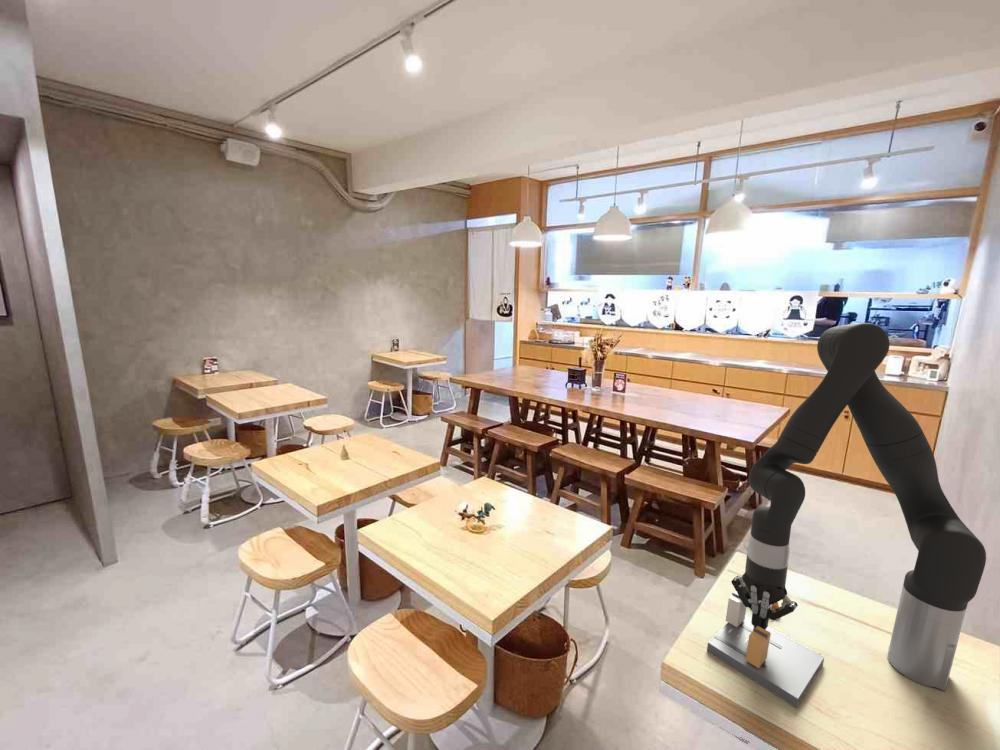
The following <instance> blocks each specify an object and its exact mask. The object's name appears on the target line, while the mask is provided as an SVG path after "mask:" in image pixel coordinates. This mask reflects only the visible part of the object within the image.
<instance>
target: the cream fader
mask: <svg viewBox="0 0 1000 750" xmlns="http://www.w3.org/2000/svg"><path fill="white" fill-rule="evenodd" d="M726 607H727V608H726V609H727V610H726V615H725V622H726V623H730V624H732V625H734V626H735V627H738V626H739V625H740V624H741V623H742V622H743V621H744V620H745V614H746V612H747V607H745V606H744V604H743V602H742V601H741V599H740V597H739V595H738V593H737V592H736V590H735V591H732V593H731V595H730V596H729V597H728V602H727V606H726ZM746 615H747V614H746Z"/></svg>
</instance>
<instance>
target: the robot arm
mask: <svg viewBox="0 0 1000 750" xmlns="http://www.w3.org/2000/svg"><path fill="white" fill-rule="evenodd" d="M817 340H818V341H817V344H816V345H817V346H816V347H817V348H816V349H817V355H818V357H819V359H820V362H821V363H822V364H823V366H824V367H825V370H826V374H825V375H824V377H823V379H822V381H821V382H820V383H819V385H818V386H817V387H816V388H815V389H814V390H813V392H812V393H811V394H809V396H808V397H807V398H805V400H804V401H803V402H802V403H801V404H800V405H799V406H798V407H797V408H796V409H795V411H793V413H792V414H791V416H790V418H789V419H788V421H787V422H786V424H785V426H784V428H783V430H782V431H781V433H780V435H779V437H778V439H777V441H776V442H775V443H774V444H773V445H772V446H771V447H769V449H767V450H766V452H765V453H763V455H762V456H761V457H760V458H759V459H757V461H756V462H755V463H754V464H753V466H752V467H751V469H750V471H749V472H748V473H749V474H748V484H749V486H750V487H749V488H751V490H752V491H754V493H756V494H759V495H760V496H761V497H763V498H765V499H767V500H768V501H770V505H769V506H763V505H762V506H759V507H757V508H755V509H754V511H753V512H752V513H753V514H752V517H751V526H750V535H749V538H748V542H747V547H746V559H745V569H744V570H745V571H744V573H743V574H742V576H740V575H735V576H734V577H733V578H732V580H731V585H732V586H733V588H734V590H735V591H736V592H737V593H738V595H739V597H740V599H741V601H742V602H743V604H744V606H745V607H746V608H749V610H751V612H752V613H751V614H752V615H751V617H752V621H751V623H752V625H753V626H754V628H756V627H757V626H759V627H761V628H763V629H766V628H767V627H769V620H772V621H776V620H778V619H780V618H782V617H785V616H788V615H789V614H791V613H794V612H795V610H796V609H797V607H798V603H797V602H796V601H795V600H794V601H793V600H791V598H789V596H788V591H787V588H786V585H787V584H786V582H787V574H788V567H789V558H790V540H791V539H790V538H791V530H792V525H793V522H794V521H795V519H796V517H797V515H798V513H799V511H800V509H801V507H802V505H803V503H804V501H805V497H806V487H805V484H804V482H803V480H802V479H801V478H800V477H799V476H798V475H796V474H794V473H792V472H791V471H788V468H790V467H791V466H792V465H793V464H800V465H809V464H811V463H812V462H813V461H814V459H815V457H816V456H817V454H818V453H819V451H820V449H821V447H822V446H823V444H824V442H825V440H826V438H827V436H828V435H829V433H830V431H831V429H832V428H833V426H834V424H835V423H836V422H837V420H838V418H839V417H840V416H841V414H842V413H843V412H844V410H845V409H846V407H848V409H849V410H850V411H849V412H850V413H851V416H852V417H853V420H854V422H855V423H856V425H857V427H858V430H859V432H860V434H861V437H862V439H863V441H864V443H865V445H866V447H867V449H868V451H869V454H870V456H871V457H872V458H871V459H873V462H874V463H875V465H876V466H877V469H878V470H879V471H880V474H881V476H882V477H883V478H884V480H885V481H886V483H887V484H888V485H889V487H890V489H891V490H892V491H893V493H894V495H895V497H896V499H897V500H898V504H899V506H900V509H901V512H902V514H903V518H904V521H905V524H906V526H907V530H908V533H909V536H910V539H911V542H912V543H913V545H914V546H915V548H916V549H917V551H918V552H917V557H916V561H915V565H914V569H912V570H909V571H907V573H905V576H904V579H903V580H904V581H903V584H902V588H901V594H900V598H899V602H898V607H897V609H896V610H897V611H896V616H895V620H894V624H893V629H892V634H891V638H890V642H889V645H888V652H887V655H886V656H887V659H888V661H889V664H890V665H892V667H893V668H894V669H895V670H897V671H898V672H899V673H901V674H902V675H904V677H907V678H908V679H910V680H912V681H914V682H916V683H918V684H920V685H921V684H922V685H924V686H926V687H931V688H937V689H940V690H941V691H943V692H945V691H946V689H947V686H948V682H949V678H950V674H951V671H952V668H953V667H952V666H953V663H954V660H955V659H954V658H955V655H956V651H957V647H958V643H959V640H960V635H961V630H962V626H963V623H964V618H965V615H966V611H967V608H968V605H969V602H970V601H972V600H973V599H974V598H975V597H976V594H977V592H978V589H979V586H980V582H981V581H982V580H981V579H982V576H983V575H984V571H985V568H986V567H985V566H986V564H987V563H986V561H987V551H986V547H984V545H983V543H982V542H981V541H980V539H979V538H978V537H977V536H976V534H974V533H973V532H972V531H971V529H969V528H968V526H967V525H966V524H965V523H964V522H963V521H962V519H961V518H960V517H959V515H958V514H957V512H956V511H955V509H954V508H953V507H952V505H951V503H950V502H949V499H947V496H946V495H945V493H944V492H943V489H942V486H941V483H940V481H939V475H938V474H939V473H938V467H937V461H936V459H935V455H934V451H933V449H932V448H931V444H930V443H929V442H928V439H927V437H926V435H925V432H924V431H923V429H922V427H921V425H920V424H919V422H918V420H917V419H916V418H915V416H914V415H913V414H912V413H911V412H910V411H909V410H908V409H907V408H906V407H905V406H904V405H903V404H902V403H901V402H900V401H899V400H898V399H897V398H896V397H895V396H894V395H893V394H892V393H890V391H888V389H887V387H885V386H884V385H883V383H882V381H881V380H880V378H879V377H878V375H877V373H876V370H877V369H878V368H879V366H880V365H881V363H882V362H883V361H884V360H885V358H886V357H887V355H888V353H889V351H890V345H891V344H890V342H891V341H890V338H889V335H888V333H887V332H886V330H884V329H883V328H882V327H881V326H879V325H878V324H874V323H871V322H856V323H855V322H854V323H849V324H842V325H836V326H833V327H830V328H828V329H826V330H825V331H823V333H821V335H820V336H819V338H818V339H817ZM745 585H746V586H745ZM780 601H782V602H781V604H780V605H781V606H779V608H777V609H775V610H771V607H772V604H775V603H776V602H778V603H779V602H780Z"/></svg>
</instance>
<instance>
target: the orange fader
mask: <svg viewBox="0 0 1000 750" xmlns="http://www.w3.org/2000/svg"><path fill="white" fill-rule="evenodd" d="M770 635H771V633H770V632H768V631H766V630H765V629H763V628H761V627H759V626H757V627H756V628H753V631H752V633H751V634H750V635H749V641H748V648H747V655H746V661H748V662H749V663H751V664H752V665H754V666H756V667H757V668H759V667H760V666H761V665H762V664H763V662H764V661H765V660H766V659H767V654H768V648H769V641H770Z"/></svg>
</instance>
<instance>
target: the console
mask: <svg viewBox="0 0 1000 750" xmlns="http://www.w3.org/2000/svg"><path fill="white" fill-rule="evenodd" d="M751 621H752V616H750V615H748V614H745V620H744V621H743V622H742V623H741V624H740V625H739V626H738V627H735V626H734V625H732V624H730V623H728V622H726V624H725V625H724V626H723V627H722V628H721V629H720V630H719V631H718V632H717V633H716V634H714V635H713V637H712V638H711V639H710V640H709V641H708V642H707V646H706V650H707V652H709V653H710V654H712V655H713V656H715V657H717V658H718V659H719V660H721V661H723V662H724V663H726V664H727V665H729V666H730V667H732V668H734V669H735V670H737V671H738V672H740V673H742V674H743V675H745V676H747V677H748V678H749V679H751V680H752V681H754V682H756V683H757V684H759V685H760V686H762V687H764V688H765V689H766V690H768V691H769V692H771V693H772V694H774V695H776V696H777V697H778V698H781V699H782V700H784V702H787V703H788V704H790V705H791V706H793V707H794V708H796V709H797V707H798V706H799V704H800V703H801V701H802V699H803V698H804V696H805V695H806V693H807V692H808V690H809V688H811V687H810V686H811V685H812V684H813V682H814V680H815V678H816V677H817V675H818V674H819V672H820V670H822V667H823V665H824V661H825V656H824V655H822V654H821V653H818V652H816V651H814V650H812V649H810V648H809V647H807V646H806V645H804V644H801V643H799V642H798V641H796V640H794V639H792V638H791V637H790V636H789V637H788V636H787V635H785V634H783V633H781V632H779V631H777V630H775V629H774V628H772V627H770V626H768V627H767V628H766V629H765V630H766V631H768V632H770V633H771V635H770V641H769V648H768V654H767V659H766V660H765V661H764V662H763V664H762V665H761V666H760V667H759V668H757V667H756V666H754V665H752V664H751V663H749V662H748V661H746V655H747V648H748V641H749V635H750V634H751V633H752V631H753V628H754V626H753V625H752V623H751Z"/></svg>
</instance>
